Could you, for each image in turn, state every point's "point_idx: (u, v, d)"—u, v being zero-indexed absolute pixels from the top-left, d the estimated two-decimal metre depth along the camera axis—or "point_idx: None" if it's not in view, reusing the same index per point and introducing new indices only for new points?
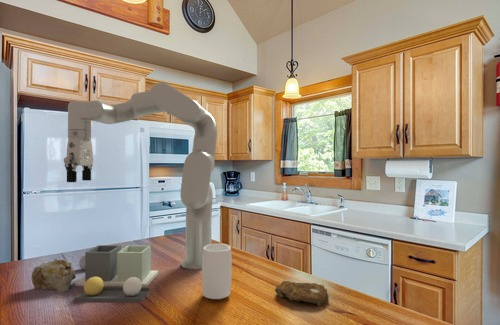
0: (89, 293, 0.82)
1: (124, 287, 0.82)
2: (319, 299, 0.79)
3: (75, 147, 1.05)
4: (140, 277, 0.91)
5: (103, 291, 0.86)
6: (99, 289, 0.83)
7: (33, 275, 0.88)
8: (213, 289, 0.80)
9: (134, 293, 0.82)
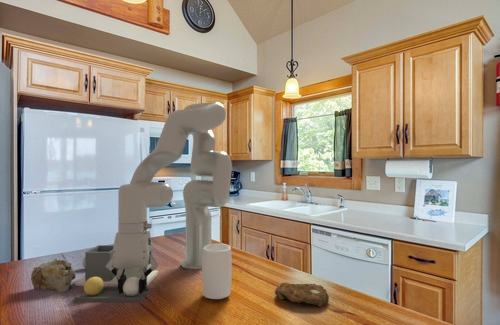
0: (89, 293, 0.82)
1: (124, 287, 0.82)
2: (320, 300, 0.78)
3: (151, 243, 0.85)
4: (140, 277, 0.91)
5: (103, 291, 0.86)
6: (99, 289, 0.83)
7: (32, 276, 0.88)
8: (213, 289, 0.80)
9: (134, 293, 0.82)
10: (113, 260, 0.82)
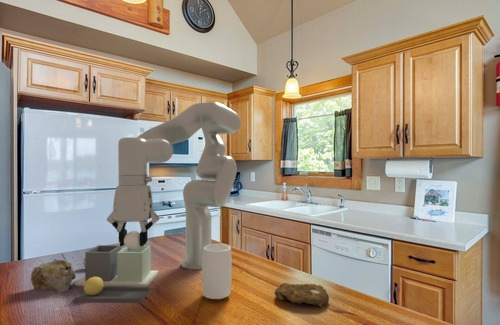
0: (89, 293, 0.82)
1: (125, 240, 0.82)
2: (321, 300, 0.78)
3: (151, 197, 0.85)
4: (140, 277, 0.91)
5: (103, 291, 0.86)
6: (99, 289, 0.83)
7: (32, 276, 0.88)
8: (213, 289, 0.80)
9: (135, 246, 0.82)
10: (114, 213, 0.82)
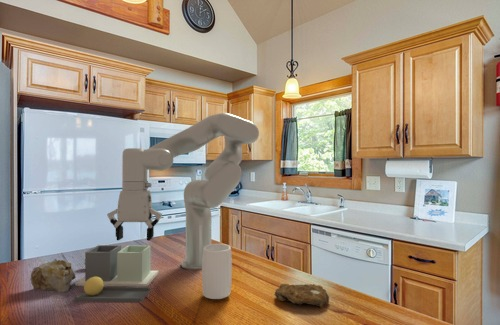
0: (89, 293, 0.82)
1: None
2: (322, 300, 0.78)
3: (151, 200, 0.96)
4: (140, 277, 0.91)
5: (103, 291, 0.86)
6: (99, 289, 0.83)
7: (32, 276, 0.88)
8: (213, 289, 0.80)
9: None
10: (118, 214, 0.93)
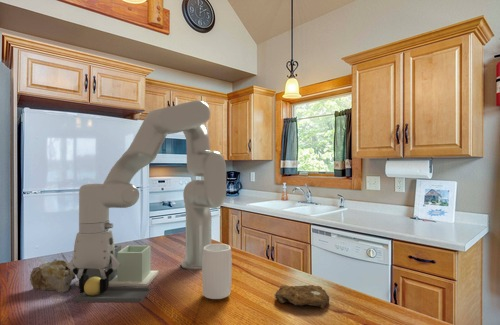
0: (89, 293, 0.82)
1: None
2: (323, 301, 0.77)
3: (113, 242, 0.85)
4: (140, 277, 0.91)
5: None
6: (99, 289, 0.83)
7: (32, 276, 0.88)
8: (213, 289, 0.80)
9: None
10: (74, 260, 0.82)
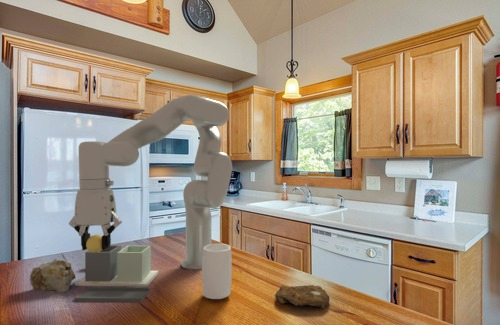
0: (91, 249, 0.82)
1: None
2: (323, 301, 0.77)
3: (114, 200, 0.85)
4: (140, 277, 0.91)
5: (103, 291, 0.86)
6: (101, 246, 0.83)
7: (31, 276, 0.88)
8: (213, 289, 0.80)
9: None
10: (75, 217, 0.82)
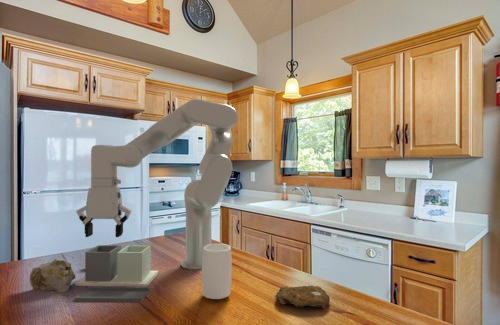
0: None
1: None
2: (324, 302, 0.77)
3: (120, 197, 0.96)
4: (140, 277, 0.91)
5: (103, 291, 0.86)
6: None
7: (31, 276, 0.87)
8: (213, 289, 0.80)
9: None
10: (86, 211, 0.93)
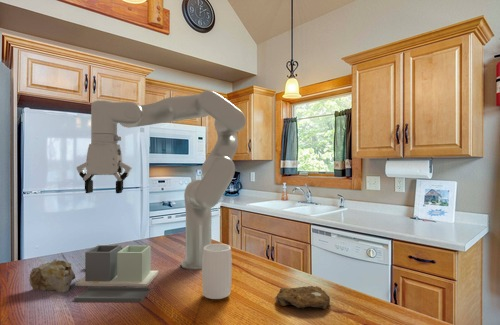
0: None
1: None
2: (325, 302, 0.77)
3: (121, 154, 0.96)
4: (140, 277, 0.91)
5: (103, 291, 0.86)
6: None
7: (31, 277, 0.87)
8: (213, 289, 0.80)
9: None
10: (86, 166, 0.93)
